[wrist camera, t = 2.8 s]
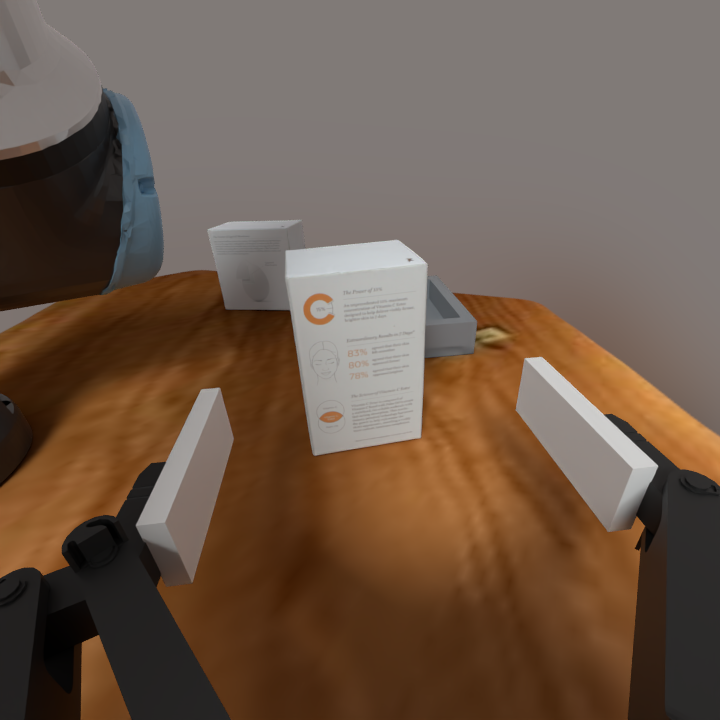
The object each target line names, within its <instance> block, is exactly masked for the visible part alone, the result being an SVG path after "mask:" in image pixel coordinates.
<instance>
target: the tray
mask: <svg viewBox="0 0 720 720" xmlns="http://www.w3.org/2000/svg"><path fill="white" fill-rule="evenodd" d="M476 327H477V321H476V320H475V318H474V317H473V316H472V315H471V314H470V313H469V312H468V310H467V309H466V308H465V307H464V306H463V305H462V304H461V303H460V301H459V300H458V299H457V298H456V297H455V296H454V295H453V293H452V292H451V291H450V290H449V289H448V288H447V287H446V286H445V284H443V282H442V281H441V280H440V279H439V278H438V276H427V299H426V324H425V354H424V358H429V357H440V356H451V355H463V354H473V353H474V344H475V336H476Z"/></svg>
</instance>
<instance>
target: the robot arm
mask: <svg viewBox="0 0 720 720" xmlns="http://www.w3.org/2000/svg"><path fill="white" fill-rule="evenodd" d="M154 184H155V183H154V177H153V168H152V162H151V157H150V153H149V149H148V145H147V142H146V138H145V134H144V131H143V128H142V125H141V122H140V119H139V117H138V115H137V112H136V110H135V108H134V106H133V104H132V103H131V102H130V100H129V99H128V98H127V97H125V96H123V95H122V94H117V93H114V92H112V91H108V90H107V89H103V88H102V85H101V82H100V78H99V76H98V73H97V71H96V68H95V67H94V65H93V63H92V62H91V61H90V59H89V58H88V56H87V55H86V54H85V53H84V52H83V51H82V50H81V49H80V48H79V47H77V46H76V45H75V44H74V43H73V42H71V41H70V40H69V39H67V38H66V37H65V36H63V35H62V34H61V33H59V32H58V31H56V30H55V29H54V28H52V27H51V26H49V25H48V24H47V23H45V21H44V19H43V16H42V13H41V10H40V8H39V5H38V2H37V0H0V311H5V310H11V309H17V308H23V307H29V306H34V305H40V304H46V303H52V302H58V301H64V300H70V299H76V298H82V297H87V296H93V295H106V294H108V293H110V292H112V291H113V290H116V289H120V288H124V287H128V286H132V285H136V284H140V283H144V282H146V281H149V280H151V279H152V278H154V277H155V276H156V274H157V273H158V272H159V270H160V268H161V265H162V262H163V253H164V251H163V250H164V242H163V229H162V219H161V211H160V205H159V200H158V195H157V192H156V190H155V188H154ZM516 411H517V412H518V413H519V415H520V416H521V417H522V419H523V420H524V421H525V422H526V424H527V425H528V426H529V428H530V429H531V430H532V432H533V433H534V434H535V436H536V437H537V438H538V440H539V441H540V442H541V444H542V445H543V446H544V448H545V449H546V450H547V452H548V453H549V454H550V456H551V457H552V458H553V460H554V461H555V462H556V464H557V465H558V466H559V468H560V469H561V470H562V471H563V473H564V474H565V475H566V477H567V478H568V479H569V481H570V482H571V483H572V485H573V486H574V487H575V489H576V490H577V491H578V493H579V494H580V495H581V497H582V498H583V499H584V501H585V502H586V503H587V505H588V506H589V507H590V509H591V510H592V511H593V513H594V514H595V515H596V516H597V518H598V519H599V520H600V522H601V523H602V524H603V526H604V527H605V528H606V530H607V531H608V532H611V531H619V530H627V529H631V528H632V525H633V523H634V521H635V518H636V516H637V517H638V518H639V519H640V520H641V522H642V523H643V524H644V525H645V528H644V530H643V532H642V534H641V536H640V539H639V541H638V543H637V545H636V547H635V549H636V550H640V548H641V552H640V565H639V579H638V592H637V605H636V618H635V631H634V644H633V657H632V671H631V684H630V697H629V710H628V720H720V486H718V485H717V484H716V483H715V482H714V481H713V480H711V479H709V478H708V477H706V476H704V475H702V474H699V473H697V472H694V471H689V470H680V469H679V468H678V467H677V466H675V465H674V464H673V463H672V462H671V461H670V460H669V459H668V458H666V457H665V456H664V455H663V454H662V453H661V452H660V451H659V450H657V449H656V448H655V447H654V446H653V445H652V444H651V443H650V442H647V441H646V439H645V438H644V437H643V436H642V435H641V434H638V433H637V431H636V430H635V429H634V428H633V427H632V426H630V425H629V424H628V423H627V422H626V421H624V420H622V419H620V418H618V417H616V416H615V415H613V414H605V415H603V414H602V413H601V412H600V411H599V410H598V409H597V408H596V407H595V406H594V405H593V404H592V403H590V402H589V401H588V400H587V399H586V398H585V397H584V396H583V395H582V394H581V393H580V392H579V391H578V390H577V389H576V388H574V387H573V386H572V385H571V384H570V383H569V382H568V381H567V380H566V379H565V378H564V377H563V376H562V375H561V374H559V373H558V372H557V371H556V370H555V369H554V368H553V367H552V366H551V365H550V364H549V363H548V362H547V361H546V360H545V359H543V358H542V357H536V358H525V360H524V366H523V372H522V377H521V383H520V389H519V394H518V400H517V406H516ZM32 437H33V434H32V429H31V427H30V425H29V423H28V422H27V420H26V418H25V417H24V415H23V413H22V412H21V410H20V409H19V407H18V406H17V405H16V404H15V403H14V402H13V401H12V400H11V399H9V398H8V397H6V396H5V395H3V394H0V483H1V482H3V481H4V480H5V479H6V478H7V477H8V476H9V475H10V474H11V473H12V472H13V471H14V469H15V468H16V467H17V466H18V465H19V463H20V462H21V461H22V460H23V458H24V457H25V455H26V453H27V452H28V450H29V448H30V445H31V442H32ZM233 440H234V437H233V434H232V430H231V426H230V423H229V419H228V415H227V412H226V408H225V404H224V401H223V397H222V394H221V390H220V388H212V389H201V391H200V393H199V395H198V397H197V399H196V401H195V403H194V406H193V408H192V410H191V412H190V414H189V416H188V418H187V420H186V422H185V424H184V426H183V428H182V430H181V433H180V435H179V437H178V439H177V441H176V443H175V445H174V447H173V449H172V451H171V453H170V455H169V457H168V460H167V462H159V463H151V464H150V465H149V466H148V467H147V468H146V469H145V470H144V471H143V472H142V473H141V474H140V475H139V476H138V478H137V480H136V482H135V483H134V485H133V487H132V488H133V489H132V490H131V491H130V493H129V494H128V496H127V500H125V502H124V504H123V505H122V507H121V509H120V511H119V513H118V515H117V516H116V518H115V517H114V516H109V515H103V516H98V517H94V518H92V519H90V520H88V521H85V522H84V523H82V524H81V525H79V526H78V527H76V528H75V529H74V530H73V531H72V532H71V533H70V534H69V535H68V536H67V537H66V539H65V541H64V543H63V545H62V555H63V556H64V558H65V559H66V560H67V562H68V563H69V565H70V566H68V567H65V568H62V569H60V570H57V571H54V572H52V573H49V574H47V575H44V576H43V575H42V574H41V573H40V571H38V570H37V569H35V568H22V569H19V570H15V571H13V572H11V573H9V574H7V575H5V576H3V577H2V578H0V720H80V717H81V654H82V642H84V641H86V640H88V639H90V638H93V637H95V636H97V635H99V636H100V639H101V641H102V644H103V646H104V649H105V652H106V654H107V657H108V659H109V662H110V665H111V667H112V670H113V672H114V675H115V678H116V680H117V683H118V685H119V688H120V690H121V693H122V696H123V698H124V701H125V703H126V706H127V709H128V711H129V714H130V716H131V719H132V720H231V719H230V717H229V715H228V714H227V712H226V710H225V708H224V707H223V705H222V703H221V701H220V699H219V698H218V696H217V694H216V692H215V691H214V689H213V687H212V685H211V684H210V682H209V680H208V678H207V677H206V675H205V673H204V671H203V670H202V668H201V666H200V664H199V662H198V661H197V659H196V657H195V655H194V654H193V652H192V650H191V648H190V647H189V645H188V643H187V641H186V640H185V638H184V636H183V634H182V632H181V631H180V629H179V627H178V625H177V624H176V622H175V620H174V618H173V617H172V615H171V613H170V611H169V610H168V608H167V606H166V604H165V602H164V601H163V599H162V597H161V595H160V594H159V592H158V590H157V588H156V587H157V584H158V581H159V579H160V576H161V577H162V579H163V581H164V583H165V585H166V587H167V586H176V585H184V584H192V583H193V579H194V576H195V572H196V569H197V565H198V562H199V558H200V555H201V551H202V548H203V545H204V541H205V538H206V534H207V531H208V527H209V524H210V520H211V517H212V513H213V510H214V506H215V503H216V499H217V496H218V492H219V489H220V485H221V482H222V478H223V475H224V472H225V468H226V465H227V461H228V458H229V454H230V451H231V447H232V444H233Z"/></svg>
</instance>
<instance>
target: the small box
mask: <svg viewBox="0 0 720 720" xmlns="http://www.w3.org/2000/svg"><path fill="white" fill-rule="evenodd" d="M427 270H428V264H427V263H426V262H425V261H424V260H423V259H421V258H420V257H419V256H418V255H417V254H416V253H414V252H413V251H412V250H411V249H410V248H408V247H407V246H406V245H404V244H403V243H402V242H400V241H399V240H391V241H381V242H371V243H360V244H350V245H339V246H330V247H319V248H308V249H298V250H286V251H285V282H286V288H287V293H288V299H289V305H290V311H291V318H292V324H293V331H294V338H295V344H296V350H297V357H298V363H299V370H300V376H301V383H302V390H303V397H304V403H305V410H306V416H307V423H308V429H309V435H310V442H311V447H312V452H313V455H314V456H317V455H322V454H327V453H333V452H339V451H345V450H351V449H357V448H363V447H369V446H375V445H381V444H387V443H393V442H399V441H405V440H411V439H418V438H421V431H422V408H423V387H424V354H425V324H426V299H427V272H428V271H427Z"/></svg>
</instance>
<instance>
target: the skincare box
mask: <svg viewBox="0 0 720 720" xmlns="http://www.w3.org/2000/svg"><path fill="white" fill-rule="evenodd" d="M207 231H208V235H209V239H210V243H211V247H212V251H213V256H214V260H215V264H216V268H217V273H218V277H219V281H220V286H221V290H222V294H223V299H224V304H225V309H227V310H290V305H289V299H288V293H287V288H286V282H285V251H286V250H298V249H305V241H304V233H303V225H302V220H284V221H243V222H228V223H225V224H222V225H219V226H217V227H213V228H211V229H208V230H207Z"/></svg>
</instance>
